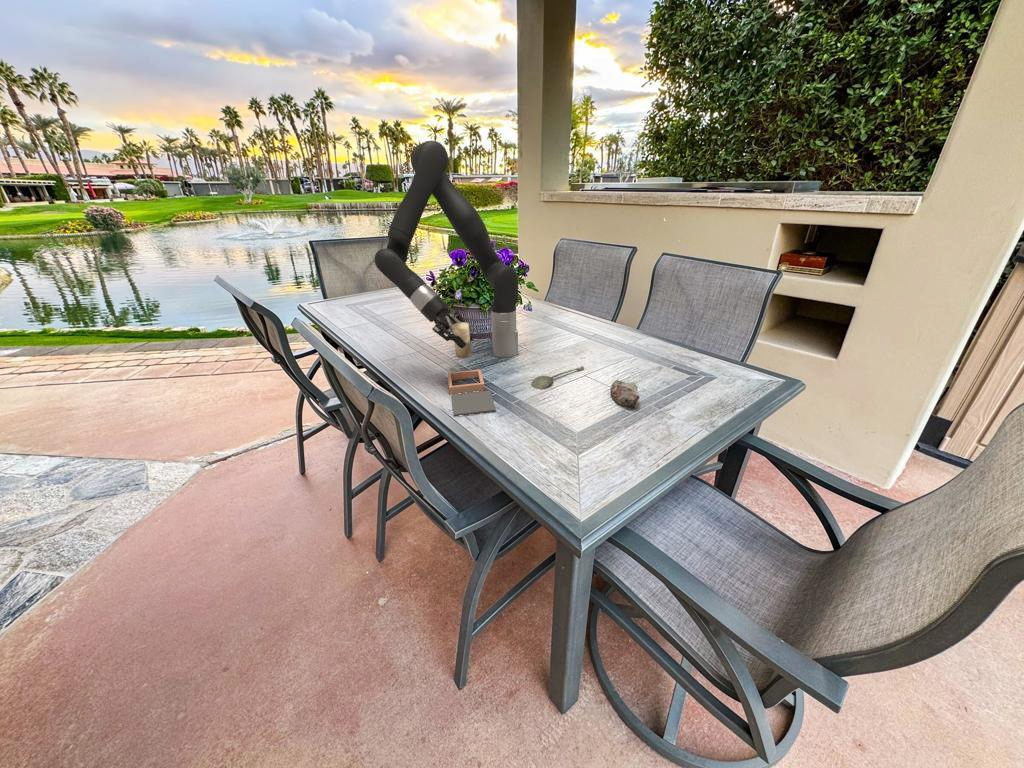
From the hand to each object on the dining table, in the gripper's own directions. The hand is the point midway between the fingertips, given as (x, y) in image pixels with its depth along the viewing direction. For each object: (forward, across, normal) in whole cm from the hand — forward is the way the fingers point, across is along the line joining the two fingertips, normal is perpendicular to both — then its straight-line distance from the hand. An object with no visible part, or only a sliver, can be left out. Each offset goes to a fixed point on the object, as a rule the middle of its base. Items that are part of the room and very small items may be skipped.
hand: (468, 343), depth 121 cm
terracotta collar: (+9, 0, +12) cm, 15 cm away
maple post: (+2, 0, +4) cm, 5 cm away
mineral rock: (+45, +6, -23) cm, 50 cm away
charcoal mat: (+14, -11, +7) cm, 19 cm away
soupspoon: (+29, +13, -7) cm, 33 cm away
